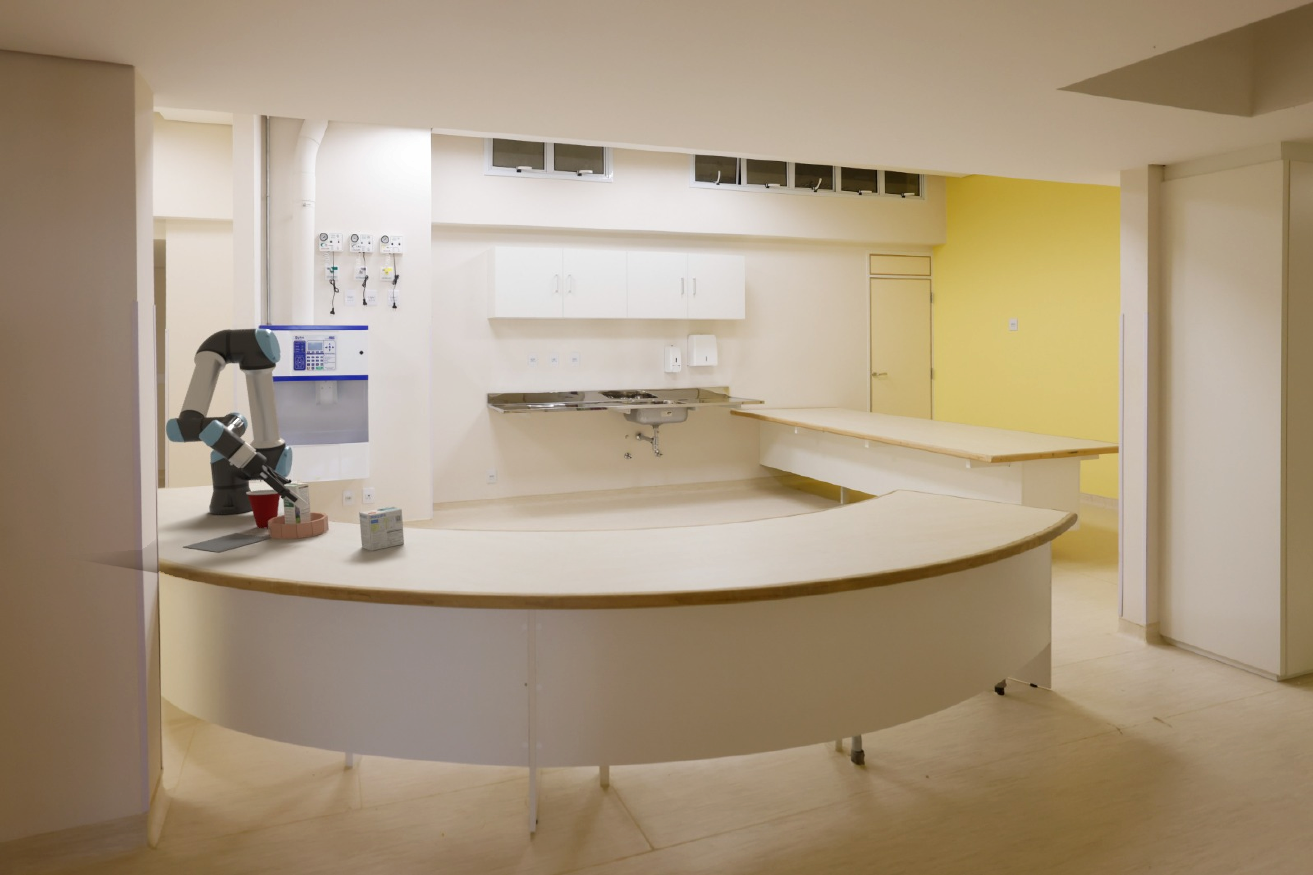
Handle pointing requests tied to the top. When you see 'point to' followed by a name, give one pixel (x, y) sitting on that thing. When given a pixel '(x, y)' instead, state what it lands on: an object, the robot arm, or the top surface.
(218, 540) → the rubber mat
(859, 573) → the top surface
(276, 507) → the plastic cup
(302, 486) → the syrup box
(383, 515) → the light bulb box
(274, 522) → the ceramic bowl
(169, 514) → the top surface
